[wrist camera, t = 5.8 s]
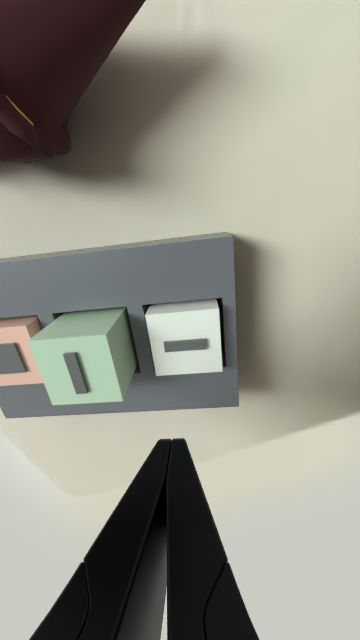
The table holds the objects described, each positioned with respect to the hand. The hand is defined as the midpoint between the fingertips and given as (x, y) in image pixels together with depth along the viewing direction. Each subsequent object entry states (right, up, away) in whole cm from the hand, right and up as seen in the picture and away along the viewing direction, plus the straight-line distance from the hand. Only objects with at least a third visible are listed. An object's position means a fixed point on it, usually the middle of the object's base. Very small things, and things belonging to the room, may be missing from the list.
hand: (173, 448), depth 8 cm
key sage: (-5, +3, +8) cm, 10 cm away
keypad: (-5, +4, +10) cm, 12 cm away
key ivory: (+1, +4, +10) cm, 11 cm away
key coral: (-10, +3, +11) cm, 15 cm away
